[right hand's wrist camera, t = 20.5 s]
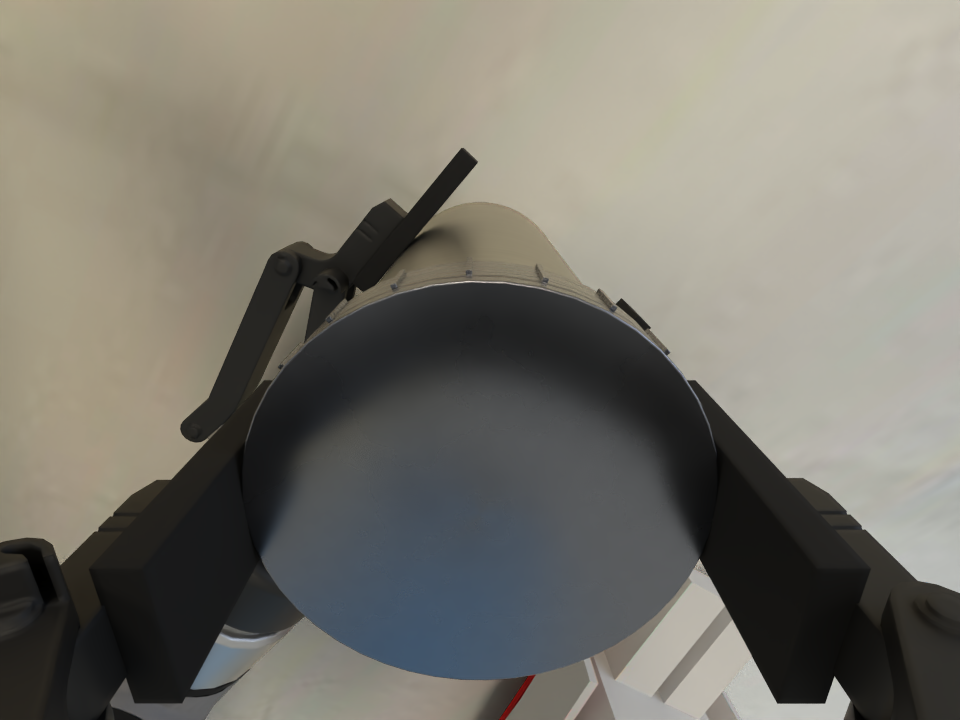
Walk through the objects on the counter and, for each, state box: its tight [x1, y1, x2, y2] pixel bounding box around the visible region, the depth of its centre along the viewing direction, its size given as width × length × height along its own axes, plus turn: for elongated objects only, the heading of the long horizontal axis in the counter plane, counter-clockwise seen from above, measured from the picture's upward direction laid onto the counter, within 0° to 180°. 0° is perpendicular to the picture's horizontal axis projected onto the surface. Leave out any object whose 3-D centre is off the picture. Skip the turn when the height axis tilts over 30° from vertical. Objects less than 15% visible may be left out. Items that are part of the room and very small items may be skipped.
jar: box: [378, 202, 582, 284], centre depth 20 cm, size 9×9×19 cm
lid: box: [242, 257, 719, 680], centre depth 11 cm, size 10×10×2 cm
